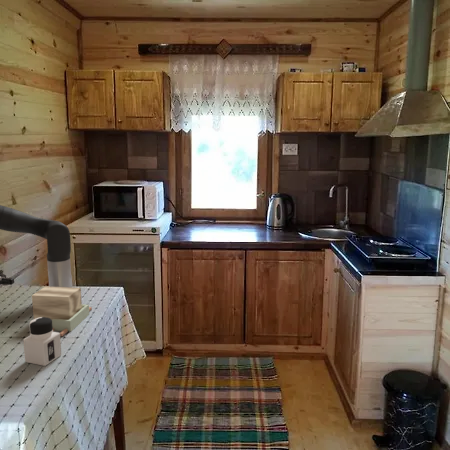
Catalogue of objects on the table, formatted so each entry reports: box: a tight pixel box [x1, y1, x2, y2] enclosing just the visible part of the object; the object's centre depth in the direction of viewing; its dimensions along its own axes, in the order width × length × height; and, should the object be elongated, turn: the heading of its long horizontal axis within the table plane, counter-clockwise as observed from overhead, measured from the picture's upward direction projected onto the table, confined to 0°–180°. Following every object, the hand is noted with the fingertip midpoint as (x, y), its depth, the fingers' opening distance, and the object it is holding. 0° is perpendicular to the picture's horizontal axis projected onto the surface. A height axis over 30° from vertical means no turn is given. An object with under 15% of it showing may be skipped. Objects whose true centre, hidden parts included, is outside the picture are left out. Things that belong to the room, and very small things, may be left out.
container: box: [23, 317, 62, 367], centre depth 140 cm, size 8×8×13 cm
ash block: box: [31, 285, 83, 320], centre depth 168 cm, size 10×14×12 cm
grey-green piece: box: [52, 303, 93, 338], centre depth 168 cm, size 25×7×4 cm, turn 173°
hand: (13, 281), depth 169 cm, fingers closed
